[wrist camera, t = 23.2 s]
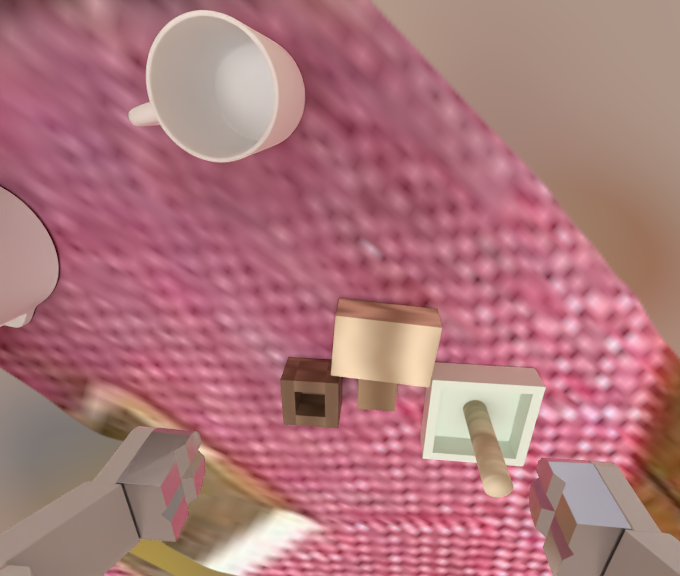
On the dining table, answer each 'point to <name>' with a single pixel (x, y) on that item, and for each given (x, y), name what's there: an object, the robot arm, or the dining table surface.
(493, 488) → the dowel
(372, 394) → the small brown block
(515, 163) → the dining table surface
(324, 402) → the socket block
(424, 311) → the board
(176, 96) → the cup
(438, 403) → the tray
